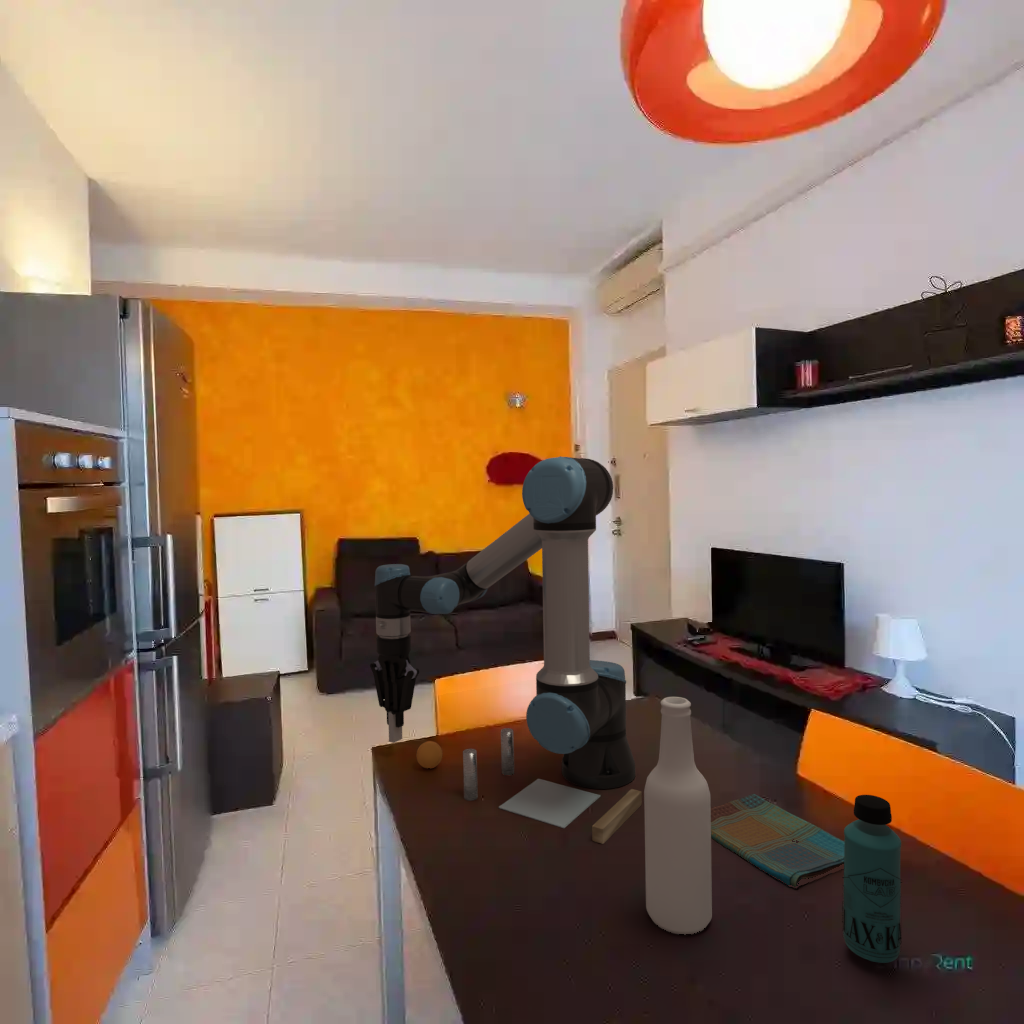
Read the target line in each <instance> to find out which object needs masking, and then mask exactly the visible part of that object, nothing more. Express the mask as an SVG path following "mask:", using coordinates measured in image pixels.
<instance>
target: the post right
mask: <svg viewBox="0 0 1024 1024" xmlns="http://www.w3.org/2000/svg"><path fill="white" fill-rule="evenodd" d="M514 740H515V739H514V729H513V728H502V729H501V730H500V744H501V745H500V753H501V775H502V774H504V775H503V776H505V775H511V776H513V775H515V751H514V749H515V746H514ZM512 774H513V775H512Z"/></svg>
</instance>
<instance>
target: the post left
mask: <svg viewBox="0 0 1024 1024" xmlns="http://www.w3.org/2000/svg"><path fill="white" fill-rule="evenodd" d="M477 753H478V751H477V749H475V748H467V749H464V750H463V751H462V762H463V763H462V765H463V766H462V767H463V799H464V800H465V801H475V800H477V799H478V794H479V793H478V792H479V791H478V762H477V761H478V759H477V758H478V757H477Z"/></svg>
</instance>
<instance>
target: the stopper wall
mask: <svg viewBox="0 0 1024 1024" xmlns="http://www.w3.org/2000/svg"><path fill="white" fill-rule="evenodd" d="M642 793H643V792H642V791H641V790H637V789H633V788H631V789H630V790H628V791H627V792H626V794H624V795H623V797H621V798H620V799H619V800H618V801H617V802H616V803H615V804H614V805H613V806H611V808H610V809H608V810H607V811H606V812H605V813H604V814H603V815H602V816H601V817H600V818H599V819H597V821H595V823H594V824H593V825H592V826H591V833H592V834H591V835H592V837H591V838H592V839H591V840H592V842H595V843H597V844H598V843H599V844H602V845H604V844H605V843H606V842H607V841H608V840H610V838H611V837H612V836H613V835H614V834H615V833H616V832H617V831H618V830H619V828H620V827H622V826H623V825H624V824H625V823H626V821H628V820H629V819H630V817H631V816H632V815H634V814H635V813H636V811H637V810H638V809H639V808H640V807H641V806H642V805H643V798H642V797H643V796H642V795H643V794H642Z"/></svg>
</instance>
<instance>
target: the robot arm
mask: <svg viewBox="0 0 1024 1024" xmlns="http://www.w3.org/2000/svg"><path fill="white" fill-rule="evenodd" d="M521 489H522V491H521V497H522V502H523V505H524V509H525V510H526V511H528V514H527V515H525V516H524V517H523V518H521V519H520V521H518V522H517V523H515V524H514V525H513V526H511V527H510V528H509V529H507V530H506V531H505V532H504V533H502V534H501V535H500V536H499V537H497V538H496V539H494V540H493V542H491V543H489V545H487V546H486V547H484V548H483V549H482V550H481V551H480V552H478V553H476V555H475V556H473V557H471V558H470V559H469V560H468V561H467V562H465V563H464V564H463V565H462V566H460V567H459V568H458V569H456V570H453V571H449V572H445V573H440V574H435V575H434V574H433V575H429V576H428V575H427V576H423V575H422V576H421V575H419V576H418V575H412V574H411V572H410V566H409V565H407V564H402V563H396V564H395V563H393V564H391V563H389V564H383V565H379V566H378V567H377V568H376V569H375V577H374V594H375V630H376V631H375V633H376V635H377V637H376V638H375V639H376V641H375V643H376V644H375V645H376V646H375V647H376V653H377V655H378V657H377V660H376V661H374V662H372V663H370V665H369V668H370V670H371V671H372V674H373V679H374V683H375V684H374V685H375V689H376V696H377V700H378V706H379V707H380V708H384V709H385V711H386V724H387V726H388V743H389V742H390V743H392V744H394V743H397V742H399V741H401V740H403V727H404V724H405V719H404V718H405V714H404V713H405V712H407V711H409V710H410V709H411V708H412V706H413V705H412V703H413V698H414V693H415V686H416V680H417V678H418V676H419V674H420V669H419V668H414V667H413V666H412V665H411V660H410V659H411V658H410V652H411V650H412V636H411V635H410V633H411V632H412V627H411V611H412V612H413V611H414V612H419V613H420V612H421V613H426V614H427V613H428V614H433V615H440V614H441V615H442V614H443V615H448V614H450V613H452V612H453V611H454V609H456V608H457V606H459V605H462V604H466V603H473V602H475V601H476V600H477V601H478V599H481V598H482V597H484V596H485V595H486V593H487V592H488V589H489V588H491V586H493V585H494V584H495V583H498V581H499V580H501V579H502V578H503V577H505V576H506V575H507V574H509V573H511V572H512V571H513V570H514V569H516V568H517V567H518V566H520V565H522V563H524V562H525V561H527V560H529V558H530V557H532V556H534V555H535V554H536V553H537V552H539V551H541V559H542V560H541V561H542V562H541V564H542V565H541V566H542V568H541V569H542V571H541V572H542V573H541V574H542V619H543V620H542V622H543V623H542V624H543V626H542V627H543V630H542V631H543V666H542V667H541V668H540V670H538V672H536V674H535V675H536V676H535V682H536V683H535V684H536V687H535V688H536V690H535V692H536V693H535V696H534V697H533V699H532V700H531V701H530V702H529V704H528V706H527V708H526V716H525V717H526V725H527V727H528V730H529V732H530V734H531V736H532V738H533V739H534V740H536V741H537V742H538V744H539V745H540V746H541V747H542V748H543V749H544V750H547V751H549V752H551V753H554V754H558V755H559V754H560V755H562V758H561V759H562V760H561V774H562V776H563V779H565V780H566V781H567V782H569V783H571V784H573V785H576V786H579V787H583V788H587V789H594V790H595V789H597V790H598V789H599V790H600V789H601V790H604V789H605V790H606V789H608V790H609V789H615V788H619V787H623V786H626V785H627V784H630V783H632V782H633V780H634V779H636V776H637V775H636V773H637V772H636V761H635V759H634V756H633V753H632V749H631V747H630V743H629V742H628V738H627V706H626V705H627V703H626V701H627V698H626V697H627V696H626V694H627V691H626V686H627V685H626V684H627V680H626V673H625V669H624V667H623V666H622V665H621V664H619V663H615V662H613V661H611V662H610V661H608V660H607V661H605V660H593V659H591V660H590V656H591V655H590V594H589V593H590V590H589V589H590V588H589V587H590V585H589V538H590V537H591V536H592V535H593V534H594V533H595V532H596V531H597V516H598V515H600V514H601V513H602V512H604V510H605V509H607V507H608V506H609V504H610V503H611V501H612V497H613V495H614V482H613V478H612V476H611V474H610V472H609V471H608V469H607V468H606V467H605V466H604V465H603V464H601V463H600V462H598V461H596V460H594V459H591V458H582V457H581V458H579V457H570V456H557V457H549V458H545V459H542V460H541V461H538V462H537V463H536V464H535V465H534V466H533V467H532V468H531V469H530V470H529V471H528V473H527V474H526V476H525V477H524V480H523V485H522V488H521Z"/></svg>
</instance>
